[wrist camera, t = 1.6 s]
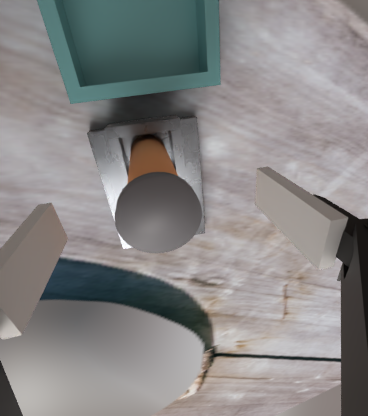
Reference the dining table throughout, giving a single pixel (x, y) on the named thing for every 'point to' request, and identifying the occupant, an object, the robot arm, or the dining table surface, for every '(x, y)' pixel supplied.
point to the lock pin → (156, 201)
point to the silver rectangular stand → (121, 147)
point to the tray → (133, 45)
